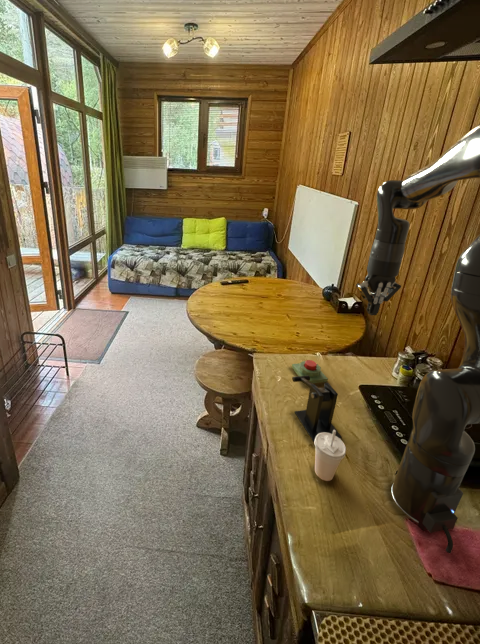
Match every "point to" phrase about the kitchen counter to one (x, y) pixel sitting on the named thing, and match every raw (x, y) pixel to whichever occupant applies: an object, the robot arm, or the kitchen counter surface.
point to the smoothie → (328, 454)
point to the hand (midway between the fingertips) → (371, 314)
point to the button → (310, 365)
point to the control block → (310, 373)
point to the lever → (306, 381)
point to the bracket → (318, 412)
